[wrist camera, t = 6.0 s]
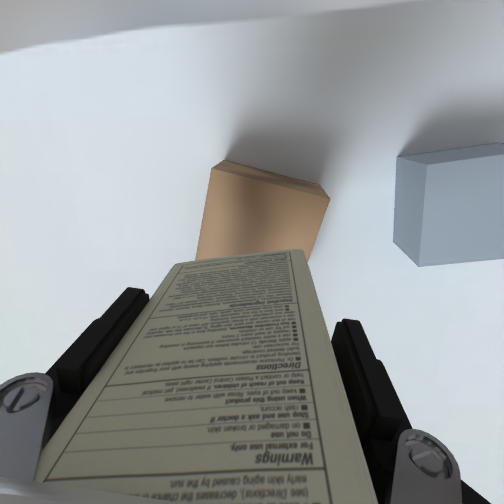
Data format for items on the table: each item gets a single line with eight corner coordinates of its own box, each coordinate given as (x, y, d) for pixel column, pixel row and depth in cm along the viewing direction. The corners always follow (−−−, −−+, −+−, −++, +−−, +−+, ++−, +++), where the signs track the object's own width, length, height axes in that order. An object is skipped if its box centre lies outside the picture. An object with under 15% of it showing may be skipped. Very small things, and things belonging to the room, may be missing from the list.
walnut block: (319, 184, 24) (330, 198, 19) (291, 269, 27) (294, 298, 22) (224, 159, 23) (211, 168, 19) (206, 248, 27) (192, 273, 22)
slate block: (495, 142, 21) (554, 147, 17) (480, 231, 24) (528, 256, 20) (395, 156, 22) (427, 164, 18) (392, 240, 25) (418, 266, 20)
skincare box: (194, 333, 15) (-18, 894, 4) (172, 257, 14) (-294, 865, 2) (316, 323, 14) (456, 984, 3) (309, 241, 13) (545, 1034, 2)
